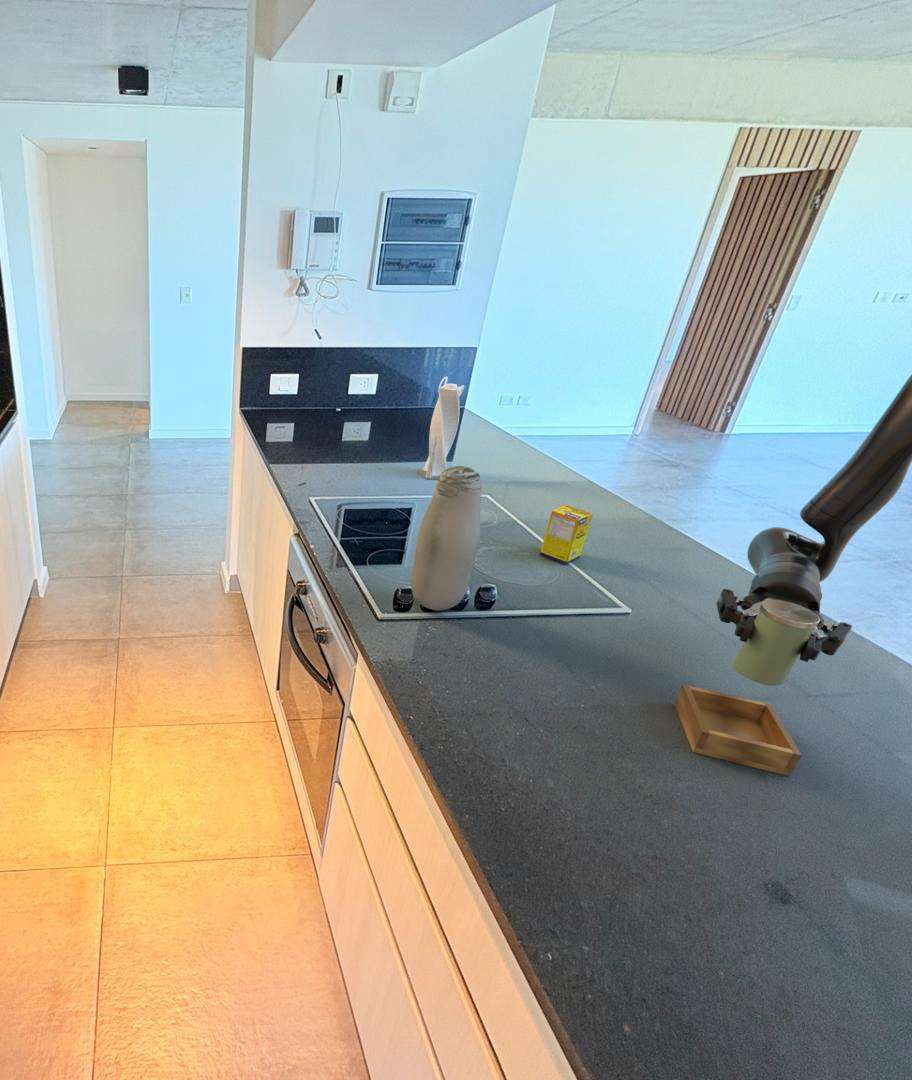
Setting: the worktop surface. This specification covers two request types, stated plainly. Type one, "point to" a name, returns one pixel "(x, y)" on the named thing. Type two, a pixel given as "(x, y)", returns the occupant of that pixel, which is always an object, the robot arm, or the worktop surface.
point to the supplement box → (566, 534)
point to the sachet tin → (775, 642)
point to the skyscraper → (442, 429)
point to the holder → (736, 730)
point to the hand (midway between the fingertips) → (775, 645)
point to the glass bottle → (448, 540)
